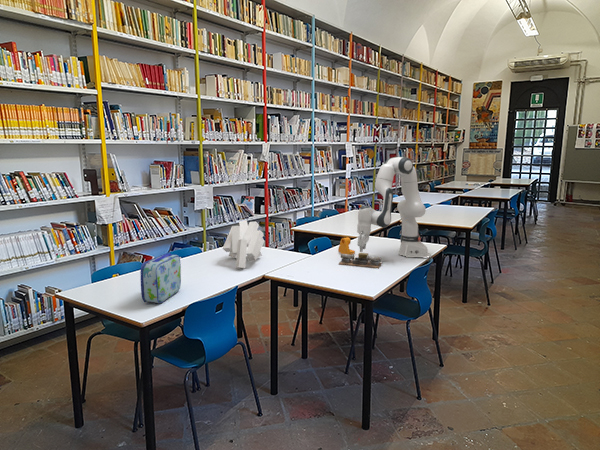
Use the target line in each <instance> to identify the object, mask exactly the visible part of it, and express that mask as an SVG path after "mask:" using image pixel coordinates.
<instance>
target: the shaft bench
mask: <svg viewBox="0 0 600 450" xmlns="http://www.w3.org/2000/svg"><path fill="white" fill-rule="evenodd" d="M340 259H341V260H340V262H339V263H338V265H339V266H347V267H356V268H357V267H359V268H369V269H376V268H378V269H380V267H381V266H382V264H383V262H381V259H382V258H381V257H380V256H371V255H369V254H368V255H367V259H364V258H358V257H355V254H340ZM378 269H377V270H378Z"/></svg>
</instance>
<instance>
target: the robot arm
mask: <svg viewBox="0 0 600 450" xmlns="http://www.w3.org/2000/svg"><path fill="white" fill-rule="evenodd" d="M396 174H399V175H400V186H401V188H400V189H401V194H402V196H403V197H404V199H401V200H400V201H399V202H398V203H397V207H396V209H397V211H398V212H399V215H400V220H401V235H400V246H399V251H398V253H399V254H400V255H399V254H398V255H399V256H401V255H403V256H402V257H404V256H406V257H405V258H408V257H427V256H429V257H430V256H431V257H432V254H431V253H429V251H428V247H427V246H426V245H425V244H424V243H423V242H422V241H421V239H422V238H421V236H419V235H418V233H419V225H418V224H419V223H418V222H417V220H416V218H422V217H423V216H424V215H425V214H426V211H427V208H426V205H424V203H423V202H422V199H421V196H420V193H419V184H418V175H417V169H416V167H415V166H414V163H413V161H412V159H411V158H409V157H406V156H404V157H403V156H398V157H396V156H395V157H390V158H387V160H385V162H384V164H382V165H381V166H380V167H379V170H378V172H377V175H376V178H375V182H374V188H375V190H376V191H377V192H378V193H379V194H380V195H381V196H382V199H383V204H382V209H381V211H379V210H375V209H374V208H372V207H371V205H363V206H360V207H359V209H358V215H357V220H358V221H357V222H358V223H357V229H356V232H357V234H358V235H357V247H359V253H364V252H363V251H364V250H366V247H367V243H368V242H369V240H370V235H371V232H372V225H374V226H378V227H379V228H384V229H385V228H387V227H388V226H390V224H391V222H392V208H393V200H394V191H393V182H394V178H395V177H394V176H395V175H396ZM431 257H430V258H431Z"/></svg>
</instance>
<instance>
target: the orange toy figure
mask: <svg viewBox="0 0 600 450" xmlns="http://www.w3.org/2000/svg"><path fill="white" fill-rule="evenodd" d="M351 241H352V240H351V238H350V237H348V236H347V237H341V239H340V242H339V246H338V249H337V250H338V251H337V252H338V253H341V254H350V255H353V254H354V255H356V250H353V249H350V245H351ZM341 254H340V255H341Z"/></svg>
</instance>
